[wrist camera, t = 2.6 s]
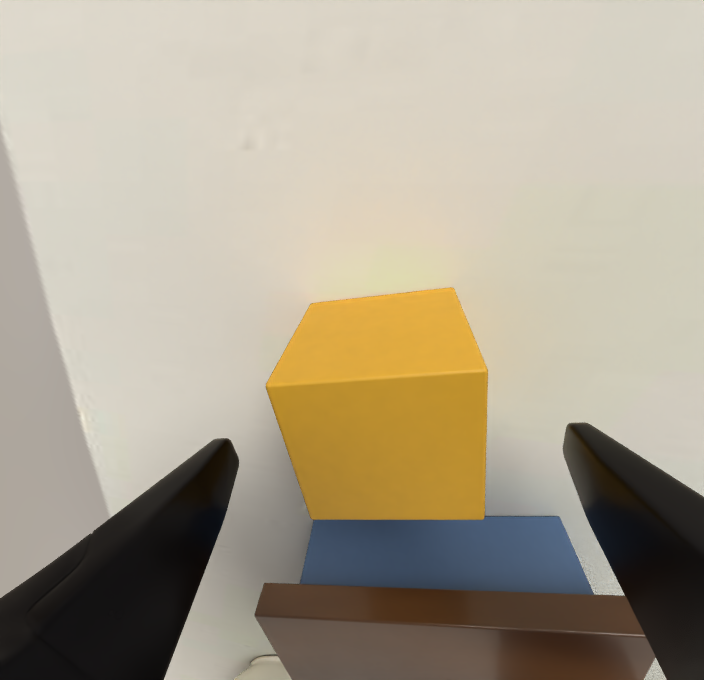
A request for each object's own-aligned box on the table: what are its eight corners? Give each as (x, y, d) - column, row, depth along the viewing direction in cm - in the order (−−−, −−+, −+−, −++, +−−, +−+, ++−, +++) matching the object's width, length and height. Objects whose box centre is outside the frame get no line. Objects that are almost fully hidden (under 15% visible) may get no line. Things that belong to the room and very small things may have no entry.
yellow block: (457, 404, 14) (485, 521, 9) (335, 410, 15) (310, 521, 10) (454, 286, 11) (489, 369, 7) (310, 302, 12) (263, 385, 8)
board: (589, 721, 17) (602, 758, 16) (322, 696, 20) (318, 726, 19) (643, 595, 12) (667, 638, 11) (263, 581, 14) (253, 616, 13)
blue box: (542, 613, 20) (572, 708, 17) (343, 604, 22) (334, 687, 19) (559, 515, 16) (604, 615, 13) (314, 516, 18) (295, 601, 15)
